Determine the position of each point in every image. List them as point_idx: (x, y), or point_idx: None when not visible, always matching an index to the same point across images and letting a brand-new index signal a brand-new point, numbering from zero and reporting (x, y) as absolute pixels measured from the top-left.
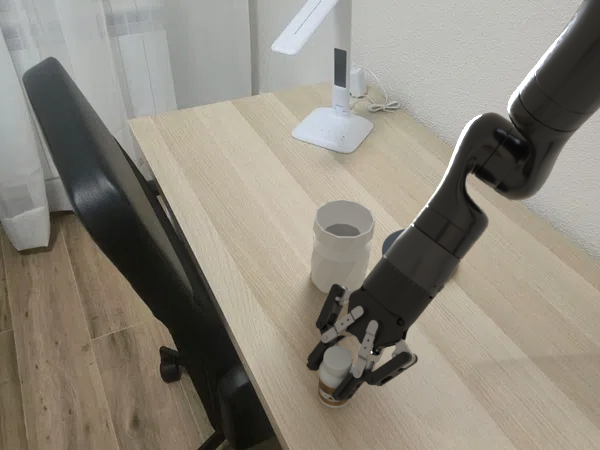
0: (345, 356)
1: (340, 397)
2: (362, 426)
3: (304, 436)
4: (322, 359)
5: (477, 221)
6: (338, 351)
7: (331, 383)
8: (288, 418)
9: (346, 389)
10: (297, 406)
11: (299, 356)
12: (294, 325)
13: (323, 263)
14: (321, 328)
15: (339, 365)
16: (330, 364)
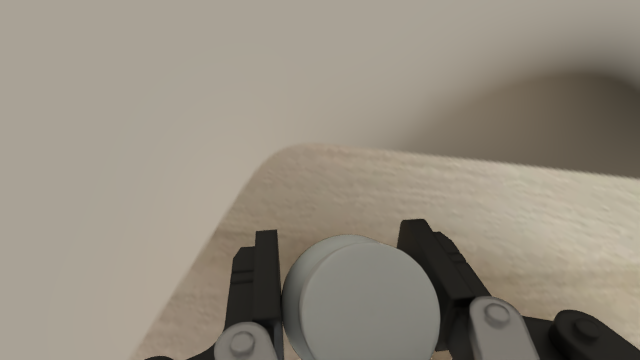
0: (360, 351)
1: (248, 249)
2: (219, 313)
3: (276, 171)
4: None
5: None
6: (401, 335)
7: (311, 250)
8: (333, 164)
9: (248, 277)
10: (350, 197)
11: None
12: None
13: None
14: (556, 327)
15: (330, 291)
16: (355, 256)
